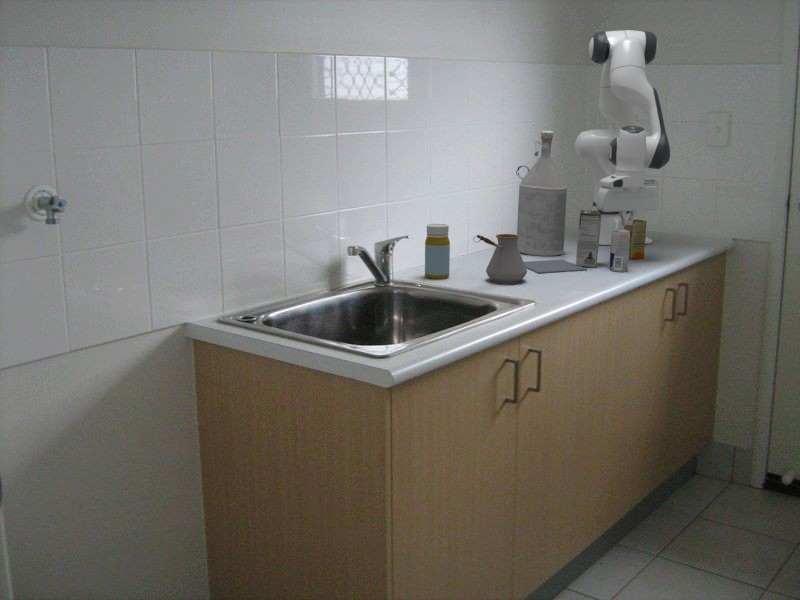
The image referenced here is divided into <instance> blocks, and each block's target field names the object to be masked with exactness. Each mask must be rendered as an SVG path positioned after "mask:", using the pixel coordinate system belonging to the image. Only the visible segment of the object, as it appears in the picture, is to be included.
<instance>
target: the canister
mask: <svg viewBox="0 0 800 600" xmlns="http://www.w3.org/2000/svg"><path fill="white" fill-rule="evenodd" d="M540 138H541V142H539V141H534V148H535V150H536V151H535V152H534V156H535V157H538V156H539V152H540V151H541V152H540V156H539V157H538V159H537V160H536V161H535V163H534V164H533V166H532V167H531V168H530V167H529V166H527V165H526V164H525V165H519V166H518V167H517V169H516V176H518V179H521V182H520V183H519V184H518V187H519V188H518V206H517V207H518V209H517V224H516V225H517V228H516V235H518V236H519V238H518V239H517V243H516V244H517V246H518V249H519V251H520V254H525V255H530V256H539V257H541V256H544V257H550V256H552V257H553V256H560V255H563V254H564V253H565V235H566V234H565V231H566V214H567V213H566V211H567V193H568V192H567V190H568V186H567V185H566V183H565V181H564V180H563V178H562V176H561V174H560V172H559V170H558V168H557V166H556V164H555V162H554V160H553V158H552V156H551V148H552V144H553V143H552V142H553V138H554V131H553V130H542V131H540ZM537 143H538V144H539V145H541V149H540V150H538V149H537ZM523 167H525V168H526V169H527V172H526V174H525V176H524V177H521V176H520V173H519V171H520V169H521V168H523Z"/></svg>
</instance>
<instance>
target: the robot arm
mask: <svg viewBox="0 0 800 600" xmlns="http://www.w3.org/2000/svg"><path fill="white" fill-rule="evenodd" d="M657 38H658V37H657V36H656V34H655V33H654V32H652V31H647V30H644V31H641V30H635V29H634V30H632V29H624V30H608V31H606V30H601V31H597V32H595V33H593V35H592V36H591V39H590V41H589V42H588V43H589V44H588V54H589V56H590V60H591V61H592V63H595V64H599V65H603V67H602V72H601V77H600V83H599V84H600V85H599V86H600V87H599V100H598V102H599V103H598V109H599V113H600V114H601V115H602V116H603V117H605V119H606V118H607V119H608V120H610V121H612V122H614V123H615V124H616V128H615V129H590V130H589V129H588V130H586V131H581V132H580V133H579V134H578V136H577V137H576V140H575V143H574V151H575V153H576V155H577V157H578V158H579V159H580V160H581V161H582V162H584V163H585V164H586V166H587V167H588V168H589V169H590V171H591V174H592V179H593V186H594V188H593V189H594V191H593V192H594V193H593V195H594V197H593V202H592V210H591V211H601V226H600V237H599V245H603V246H611V233H612V230H615V229H624V226H630V225H633V220H634V219H638V218H637V217H636V216H637V215H638V212H640V211H657V210H658V209H659V207H660V192H659V191H660V183H659V182H658V181H657V180H655V179H645V178H646V169H647V168H648V169H655V170H659V169H662V168H663V167H665V166H666V165H667V164H668V163H669V162H670V159H671V152H672V151H671V146H670V145H671V144H670V142H669V138H668V136H667V132H666V126H665V121H664V116H663V110H662V107H661V106H662V105H661V102H660V97H659V94H658V91H657V88H655V87H653V86H652V85H651V84H650V82H649V81H648V79H647V74H646V72H647V71H646V65H649V64H650V63H651V62H653V61H654V60H655V58H656V56H657V53H658V49H659V43H658V39H657ZM634 106H635V107H637V108H639V109H641V110H643V111H644V112H645V113H646V115H647V119H648V124H649V130H650V131H649V132H650V134H649V133H648V132H647V131H646V128H644V127H642V126H640V125H639V123H638V121H637V119H636V116H635V112H634ZM610 164H612V165H613V166H615V170H614V169H612V168H611V165H610ZM646 244H648V245H649V244H653V239H652V238H649V237H647V236H646V237H645V245H646Z"/></svg>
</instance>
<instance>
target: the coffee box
mask: <svg viewBox="0 0 800 600" xmlns="http://www.w3.org/2000/svg"><path fill="white" fill-rule="evenodd" d="M579 213H580V214H579V223H578V232H577V244H576V245H577V247H576V256H575V257H576V259H575V265H576V266H580V267H590V268H597V265H598V263H597V262H598V254H599V245H600V244H599V237H600V226H601V211H592V210H583V209H581V210H580V212H579Z"/></svg>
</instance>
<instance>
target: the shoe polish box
mask: <svg viewBox="0 0 800 600" xmlns="http://www.w3.org/2000/svg"><path fill="white" fill-rule="evenodd" d="M624 230H629V232H630V243H629V259H628V260H631V261H633V260H644V259H645V247H646V244H645V237H647V232H646V231H647V221H646V220H641V219H638V218H637V219H634V220H633V225H630V226H624Z"/></svg>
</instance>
